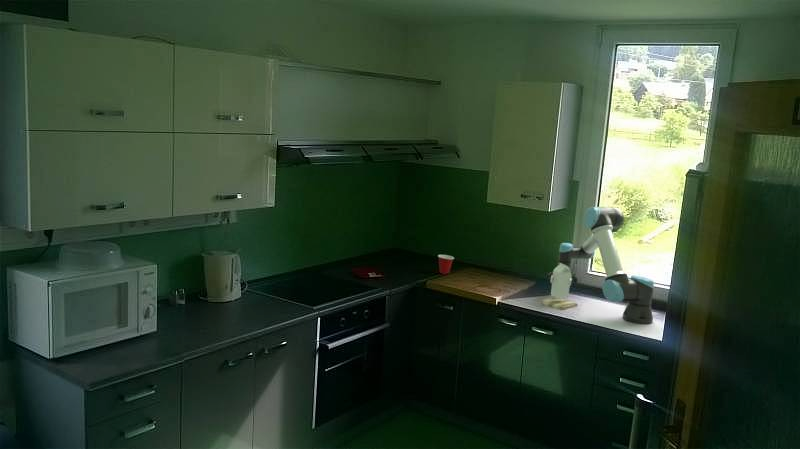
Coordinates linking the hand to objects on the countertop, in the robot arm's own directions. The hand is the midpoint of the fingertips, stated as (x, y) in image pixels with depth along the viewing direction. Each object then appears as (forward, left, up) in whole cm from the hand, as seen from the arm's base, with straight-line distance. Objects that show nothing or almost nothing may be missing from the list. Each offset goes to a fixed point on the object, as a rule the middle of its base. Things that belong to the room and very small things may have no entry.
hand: (560, 281), depth 351 cm
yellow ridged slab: (+2, -4, -14) cm, 15 cm away
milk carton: (+2, -4, -10) cm, 11 cm away
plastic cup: (+85, +2, -15) cm, 86 cm away
